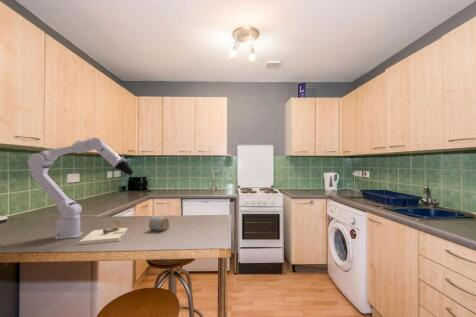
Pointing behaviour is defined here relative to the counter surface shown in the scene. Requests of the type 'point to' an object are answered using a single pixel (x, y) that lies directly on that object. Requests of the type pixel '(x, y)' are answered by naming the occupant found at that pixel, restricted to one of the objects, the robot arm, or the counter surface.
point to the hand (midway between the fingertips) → (131, 173)
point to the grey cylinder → (158, 223)
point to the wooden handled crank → (116, 226)
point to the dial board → (103, 236)
